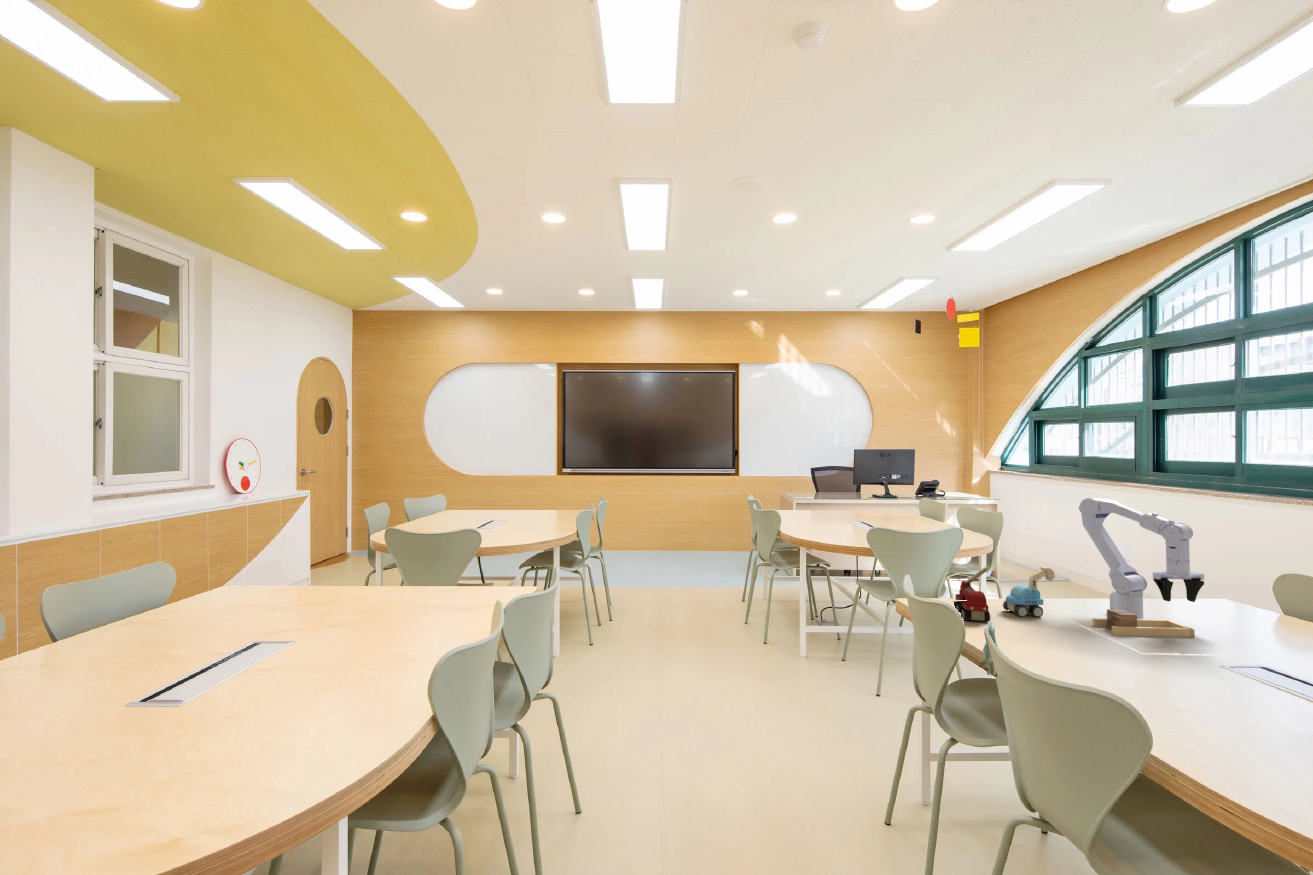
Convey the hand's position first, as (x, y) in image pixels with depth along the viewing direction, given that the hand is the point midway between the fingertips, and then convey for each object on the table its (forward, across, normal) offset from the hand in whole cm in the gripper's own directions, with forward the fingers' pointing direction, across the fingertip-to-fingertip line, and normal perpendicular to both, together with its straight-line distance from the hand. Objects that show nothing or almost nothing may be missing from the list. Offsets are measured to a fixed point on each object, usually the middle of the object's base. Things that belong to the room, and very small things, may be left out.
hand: (1178, 600), depth 182 cm
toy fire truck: (+10, -60, +11) cm, 62 cm away
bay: (+10, -14, -3) cm, 17 cm away
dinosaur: (+10, -78, -37) cm, 87 cm away
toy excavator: (+10, -38, +16) cm, 42 cm away
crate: (+9, -20, -3) cm, 22 cm away
